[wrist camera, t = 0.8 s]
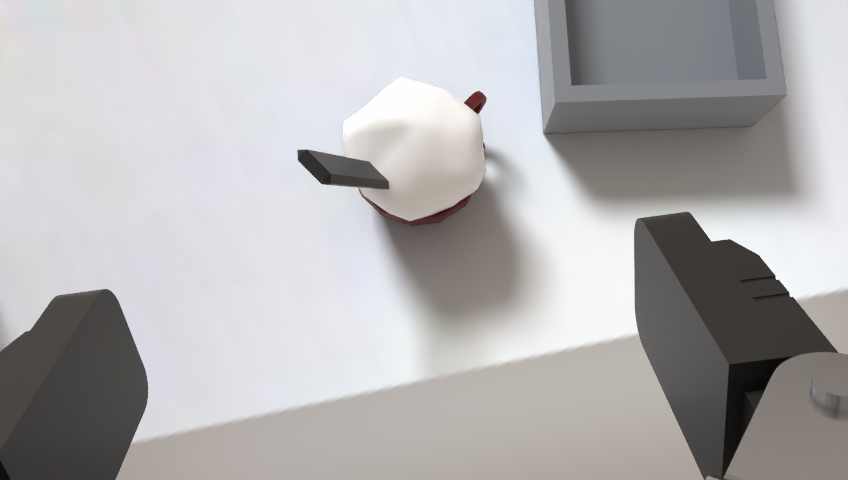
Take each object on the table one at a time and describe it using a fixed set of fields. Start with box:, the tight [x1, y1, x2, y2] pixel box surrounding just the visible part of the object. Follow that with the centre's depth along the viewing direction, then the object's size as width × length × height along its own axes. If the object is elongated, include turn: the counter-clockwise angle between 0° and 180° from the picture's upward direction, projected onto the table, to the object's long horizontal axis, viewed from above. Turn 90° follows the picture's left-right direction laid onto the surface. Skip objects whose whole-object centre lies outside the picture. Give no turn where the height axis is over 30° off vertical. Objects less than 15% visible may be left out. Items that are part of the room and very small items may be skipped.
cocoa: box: [298, 77, 486, 226], centre depth 33 cm, size 10×6×12 cm, turn 113°
